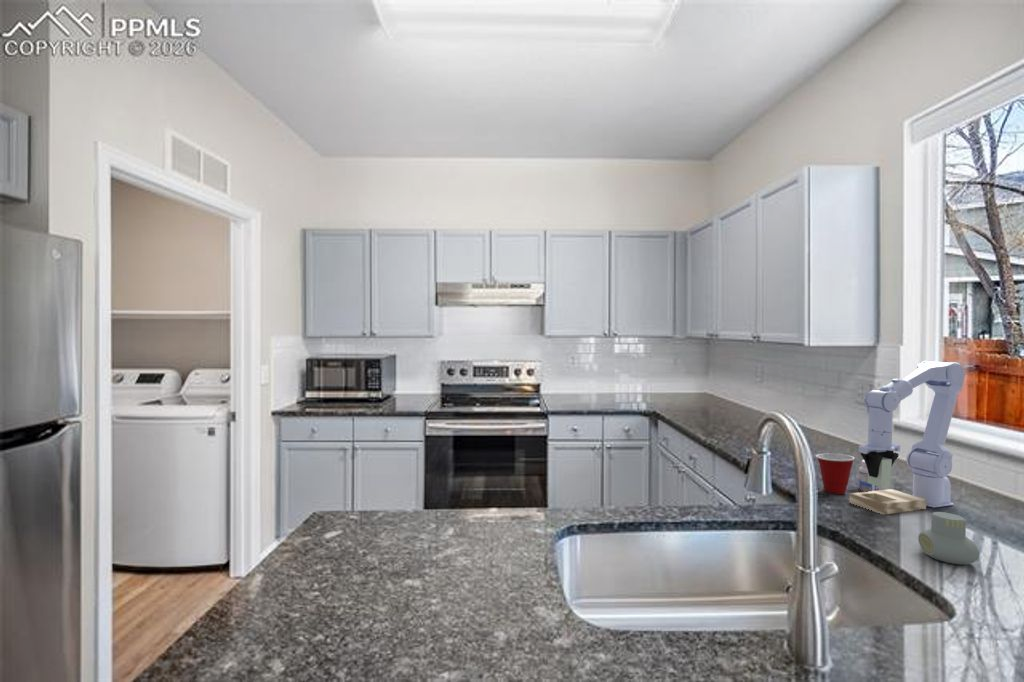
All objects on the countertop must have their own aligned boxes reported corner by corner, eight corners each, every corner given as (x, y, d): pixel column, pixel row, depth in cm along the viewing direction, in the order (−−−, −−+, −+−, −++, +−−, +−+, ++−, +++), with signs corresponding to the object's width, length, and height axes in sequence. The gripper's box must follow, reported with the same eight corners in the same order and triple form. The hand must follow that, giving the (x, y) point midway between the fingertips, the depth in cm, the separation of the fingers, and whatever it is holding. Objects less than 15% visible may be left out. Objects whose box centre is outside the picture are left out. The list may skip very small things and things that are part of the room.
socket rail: (891, 498, 157) (891, 489, 157) (926, 509, 147) (926, 499, 147) (849, 503, 151) (849, 493, 151) (882, 514, 142) (883, 504, 142)
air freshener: (984, 573, 107) (985, 527, 107) (938, 567, 109) (939, 522, 109) (955, 552, 117) (957, 510, 117) (914, 547, 120) (915, 506, 120)
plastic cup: (815, 484, 170) (816, 449, 170) (854, 491, 164) (855, 454, 164) (813, 492, 161) (814, 455, 161) (853, 499, 155) (854, 461, 155)
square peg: (877, 482, 150) (878, 456, 150) (890, 486, 146) (891, 459, 146) (867, 483, 149) (868, 456, 149) (881, 487, 145) (882, 460, 145)
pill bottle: (872, 488, 167) (873, 459, 167) (882, 493, 162) (883, 463, 162) (854, 487, 168) (855, 459, 168) (864, 492, 162) (865, 463, 162)
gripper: (876, 434, 142) (874, 481, 142) (911, 432, 146) (910, 478, 146) (852, 429, 148) (851, 474, 149) (886, 428, 153) (885, 471, 153)
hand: (878, 476), depth 148 cm, fingers closed on square peg, 4 cm apart
